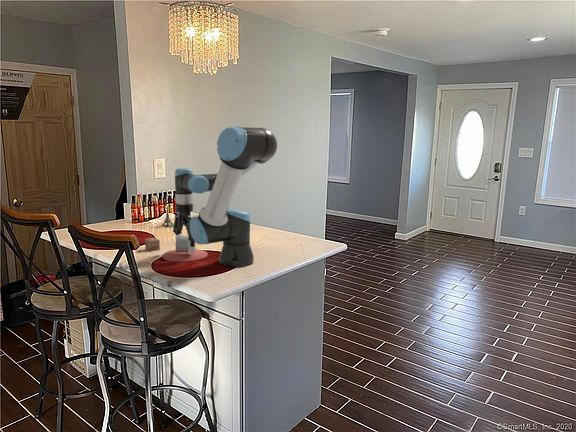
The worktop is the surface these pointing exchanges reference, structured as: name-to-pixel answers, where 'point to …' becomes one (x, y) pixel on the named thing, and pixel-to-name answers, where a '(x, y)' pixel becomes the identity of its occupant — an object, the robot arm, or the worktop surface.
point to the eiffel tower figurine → (167, 221)
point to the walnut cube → (152, 244)
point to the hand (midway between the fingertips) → (185, 250)
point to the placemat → (184, 256)
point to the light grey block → (182, 243)
